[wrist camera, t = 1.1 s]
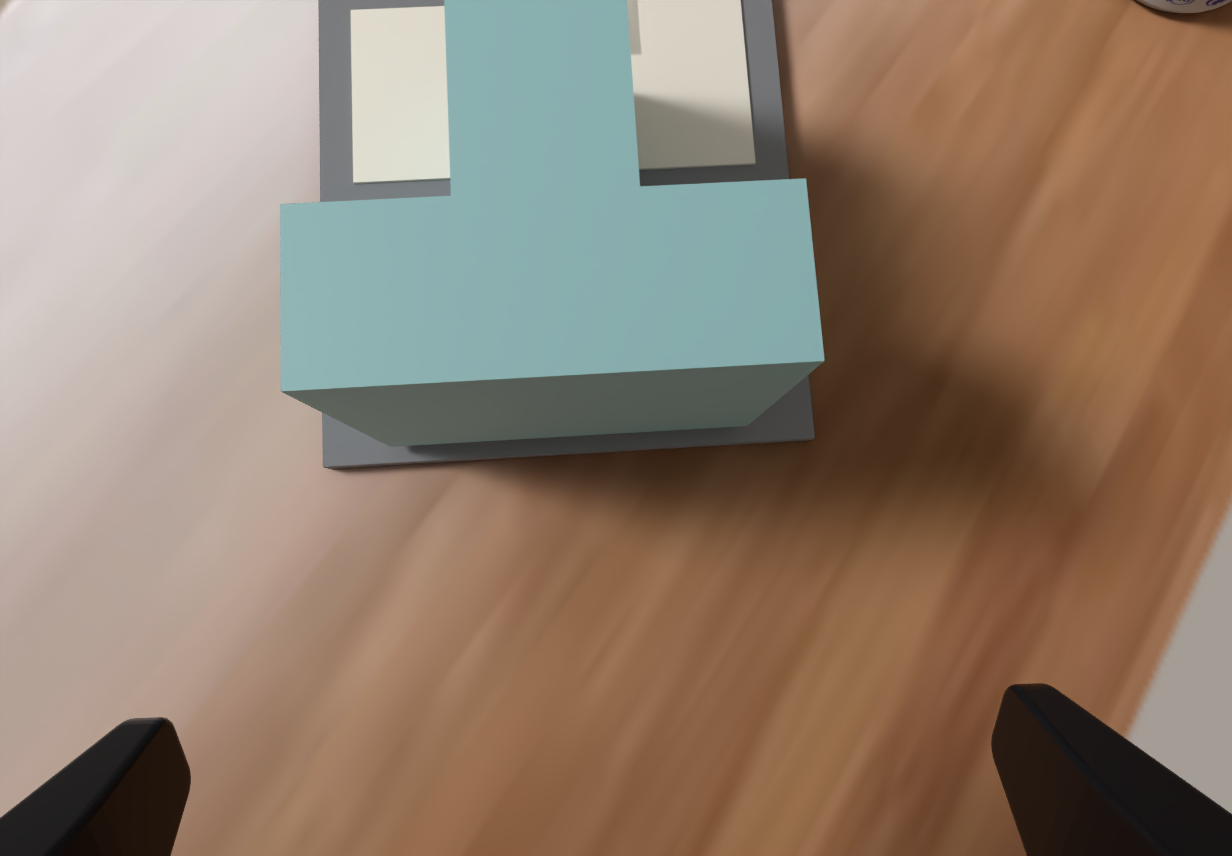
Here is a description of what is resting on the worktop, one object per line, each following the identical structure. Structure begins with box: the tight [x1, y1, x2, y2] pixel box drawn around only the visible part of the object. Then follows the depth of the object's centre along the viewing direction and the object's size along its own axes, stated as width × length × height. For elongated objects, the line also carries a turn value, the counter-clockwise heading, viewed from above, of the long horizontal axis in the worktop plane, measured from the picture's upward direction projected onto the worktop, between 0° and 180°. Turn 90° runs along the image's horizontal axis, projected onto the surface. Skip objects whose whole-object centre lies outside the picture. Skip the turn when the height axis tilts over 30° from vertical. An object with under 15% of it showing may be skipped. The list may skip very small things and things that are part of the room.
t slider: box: [280, 0, 825, 447], centre depth 20 cm, size 11×10×8 cm
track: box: [319, 0, 815, 469], centre depth 24 cm, size 22×14×4 cm, turn 4°
